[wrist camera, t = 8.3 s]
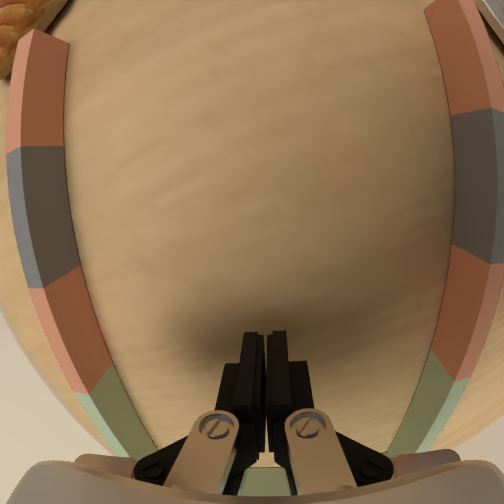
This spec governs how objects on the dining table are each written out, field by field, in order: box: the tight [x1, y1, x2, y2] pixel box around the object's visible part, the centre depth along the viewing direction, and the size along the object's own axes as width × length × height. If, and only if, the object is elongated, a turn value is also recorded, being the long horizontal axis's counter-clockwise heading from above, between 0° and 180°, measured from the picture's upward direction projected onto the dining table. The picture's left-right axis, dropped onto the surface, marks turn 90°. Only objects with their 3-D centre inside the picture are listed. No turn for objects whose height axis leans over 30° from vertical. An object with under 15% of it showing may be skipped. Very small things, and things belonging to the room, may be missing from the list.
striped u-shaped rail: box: [6, 0, 504, 496], centre depth 11 cm, size 20×30×3 cm
